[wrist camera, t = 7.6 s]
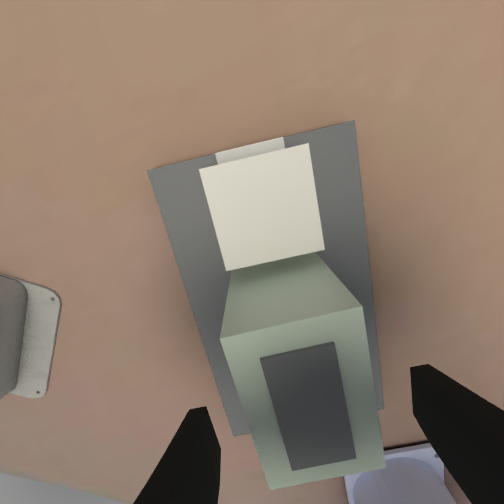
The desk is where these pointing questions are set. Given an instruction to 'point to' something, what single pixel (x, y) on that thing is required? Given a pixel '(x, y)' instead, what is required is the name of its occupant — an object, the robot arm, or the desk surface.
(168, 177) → the rail board
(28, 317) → the emergency button
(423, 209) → the desk surface
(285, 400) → the block
